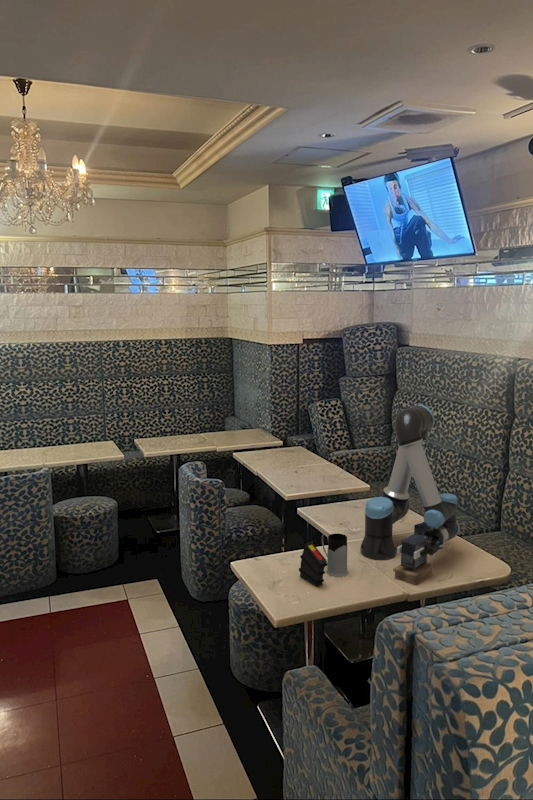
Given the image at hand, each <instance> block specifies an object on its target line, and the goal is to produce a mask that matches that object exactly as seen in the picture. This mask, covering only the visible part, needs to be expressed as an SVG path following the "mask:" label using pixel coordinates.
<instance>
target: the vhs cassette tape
mask: <svg viewBox="0 0 533 800" xmlns="http://www.w3.org/2000/svg"><path fill="white" fill-rule="evenodd" d="M413 528H414V529H413V534H418V535H423V534H424V533H425V532H426V531H427V530H429V529H431V528H430V527H429V526H427V525H426V523H425V522H424V521H423V522H421V523H416V524H414V527H413Z"/></svg>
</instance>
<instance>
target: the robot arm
mask: <svg viewBox="0 0 533 800" xmlns="http://www.w3.org/2000/svg"><path fill="white" fill-rule="evenodd" d="M434 423H435V416H434V413H433V411H432V410H431V408H430V407H428V406H426V405H422V404H419V405H417V404H416V405H413V406H411V407H408V408H405V409H403V410H401V411H399V412H398V414H397V415H396V417H395V420H394V431H395V435H396V438H397V439H396V440H397V442H398V444H399V445H398V449H397V452H396V456H395V460H394V463H393V467H392V471H391V474H390V478H389V482H388V484H387V485H388V486H385V487H384V488H383V490H382V494H381V496H376V497H372V498H369V499H368V500H366V503H365V509H364V514H365V515H364V517H365V518H364V537H363V539H362V542H361V544H360V551H359V552H360V554H361V555H362V556H364V557H366V558H368V559H372V560H378V561H379V560H381V561H382V560H384V561H385V560H391V559H392V558H393V559H394V557H396V554H397V555H401V550H402V540H404V539H406V538H408V537H409V536H408V537H404V538H402V539H401V540H400V545H399V546H397V548H396V545H395V541H394V538H393V527H394V526H393V525H394V524H395V523H396V522H398V521H400V520H401V519H403V518H404V517H405V516H406V515H407V513H408V512H409V510H410V501H409V500H410V493H409V492H408V491H409V490H408V489H409V487H410V484H411V479H412V477H413V480H414V483H415V486H416V488H417V491H418V495H419V496H420V500H421V503H422V506H423V509H424V511H425V513H424V516H423V522H425V523H426V525H427V526H429V527H430V528H431V529H429V530H427V531H426V532H425V533H424V534H423V535H422V536H426V537H428V542H427V545H426V546H425V549H424V548H423V547H422V548H420V549H419V550H417V551H415V552H414V559H417V558H419V557H420V556H424V555H425V554H426V555H427V556H428V555H429V556H433V555H435V554H436V553H437V552H438V551H439V550H443V549H444V544H445V543H446V542H448V541H450V540H452V539H453V538H455V537H456V536H457V535H459V533H460V531H461V527H460V524H459V522H458V521H457V512H458V511H457V510H458V498H457V496H456V495H455V494H453V493H449V492H448V493H445V492H443V493H441V494H440V493H439V490H438V488H437V484H436V481H435V479H434V476H433V473H432V470H431V467H430V464H429V461H428V458H427V455H426V452H425V450H424V447H423V442H425V441H426V440H427V438H428V437H427V436H428V434H429V430H431V429H433V428H432V427H433V426H434Z"/></svg>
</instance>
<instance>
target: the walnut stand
mask: <svg viewBox="0 0 533 800" xmlns="http://www.w3.org/2000/svg"><path fill="white" fill-rule="evenodd" d="M433 568H435V564H432V563H430V562H425V563H424V564H423V565H421V566H420V567H418V568H417V569H415V570H413V569H410V568H407V567H404V566H401V563H399V565H397V566H395V567H393V568H392V569H393V570H392V571H393V572H394V579H396V580H399V581H403V582H404V581H405V583H408V584H411V585H412V586H416V585H418V584H419V583H421V582H422V581H424V580H426V579H427V578H428V577H430V576H432V575H433Z"/></svg>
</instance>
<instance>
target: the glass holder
mask: <svg viewBox="0 0 533 800" xmlns="http://www.w3.org/2000/svg"><path fill="white" fill-rule="evenodd" d="M324 536H326V537H327V550H326V548H325V543H324ZM321 546H322V549H323V552H324V554H325V556H326V558H327V564H328V565H327V566H326V568H327V569H326V572H325V574H327V575H328V576H330V577H332V576H333V578H342V577H343V576H344V577H346V576H348V575H349V571H348V536H347V535H346V534H343V533H331V534H327V533H323V534H322V535H321ZM347 574H348V575H347Z"/></svg>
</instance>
